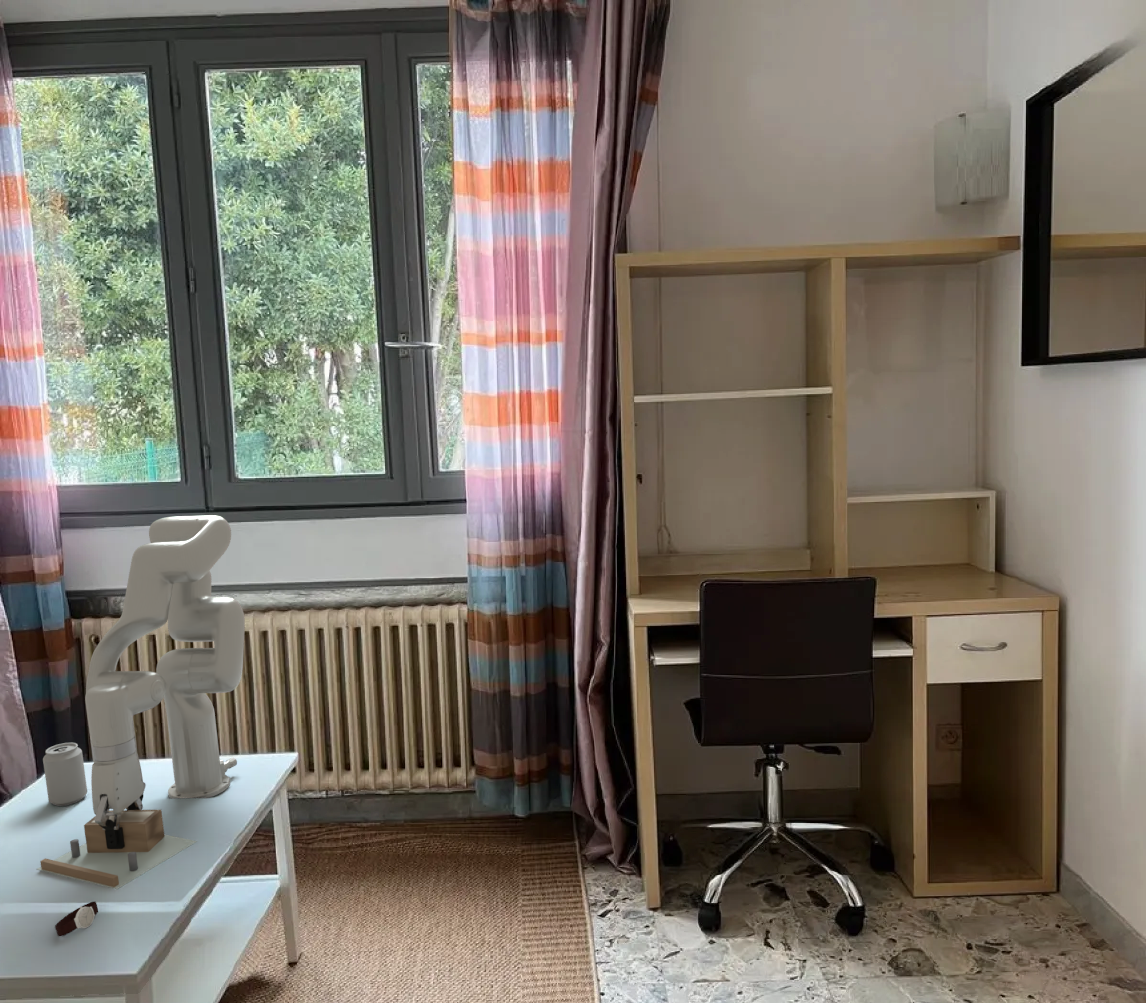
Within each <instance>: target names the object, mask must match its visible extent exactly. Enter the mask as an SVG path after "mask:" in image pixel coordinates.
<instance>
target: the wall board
mask: <svg viewBox="0 0 1146 1003" xmlns="http://www.w3.org/2000/svg"><path fill="white" fill-rule="evenodd" d="M164 835H165V837H164V838H163V839H162V840H160V841H159V842H158V843H157V844H156V845H155V846H154V847H153V848H152V849H151V850H150V851H149V852H110V853H88V852H87V845H86V842H85V843H83V844H82V845H80V841H79V839H78V838H75V839H72V840H70V841H69V844H70V851H68V852H66V853H65V854H63V855H61V856H58V857H57V858H55V859H51V858H50V859H49V858H43V859H41V860H40V867H38V868H36V871H40V872H45V873H48V874H53V875H58V876H61V877H64V878H65V877H66V878H70V879H74V880H78V881H82V882H86V883H89V884H94V885H98V886H102V887H106V888H111V889H114V890H119V889H120V888H121V887H123V886H124V885H127V884H128V883H130V882H133V881H134V880H135V879H137V878H138V877H140V876H142V875H143V874H145V873H147V872H148V871H150V870H151V869H155V867H156V866H158V865H160V864H161V863H163V862H165V861H167V860H168V859H170V858H172V857H174V856H175V855H177V854H179V853H180V852H182V851H184V850H185V849H187V848H189V847H190V846H192V845H194V844H196V843H197V842H198V840H193V839H189V838H188V839H187V838H183V837H179V836H178V837H177V836H172V835H169V834H164Z"/></svg>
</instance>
